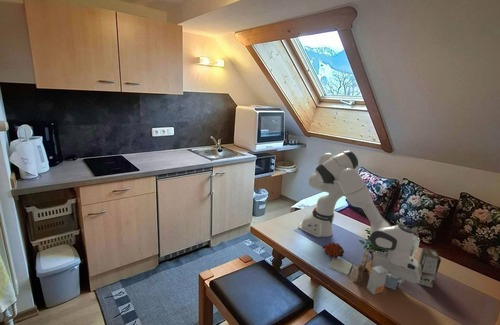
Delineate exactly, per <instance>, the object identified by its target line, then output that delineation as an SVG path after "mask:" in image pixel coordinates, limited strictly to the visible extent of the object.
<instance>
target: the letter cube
mask: <svg viewBox="0 0 500 325" xmlns="http://www.w3.org/2000/svg"><path fill="white" fill-rule="evenodd" d="M398 280H399V277H396V276H393V275H391V274H388V273H387V276H386V280H385V283H384V287H385V288H389V289H391V290H394V291H396V289H397V287H398V285H397V283H398Z"/></svg>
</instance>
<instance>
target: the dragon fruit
mask: <svg viewBox="0 0 500 325" xmlns="http://www.w3.org/2000/svg"><path fill="white" fill-rule="evenodd" d="M322 249H323V250H324V251H323V252H324V253H325V254H327V255H329V257H330V258H334V257H335V258H338V259H339V257H340V258H342V257H344V254H345V251H344V248H343V247H342V246H341V245H340V244H339V243H338V242H336V243H335V242H333V241H332V242H330V243H328V244H326V245H323V246H322Z"/></svg>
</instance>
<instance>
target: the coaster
mask: <svg viewBox="0 0 500 325" xmlns="http://www.w3.org/2000/svg"><path fill="white" fill-rule="evenodd" d="M352 267H353V263H350V262H348V261H347V260H342V259H341V258H339V257H338V258H335V257H334V256H333V257H332V260H331V262H330V263H329V265H328V268H329V269H331V270H333V271H336V272H339V273H341V274H344V275H346V276H349V274H350V271H351V269H352Z"/></svg>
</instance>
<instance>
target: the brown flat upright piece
mask: <svg viewBox="0 0 500 325" xmlns="http://www.w3.org/2000/svg"><path fill="white" fill-rule="evenodd" d="M369 254H370V250H369V249H367V248H366V249H365V251H364V254H363V256H362V259H361V262H360V264H359V265H358V268H357V269H358V273H357V274H358V275H357V277H355V278H354V279H353V283H354V284H356V285H358V286H361V287H363V286H364V283H365V282H364V281H363V280H362V279H363V277H364V276H363V275H364V272H368V271H369V268H368V267H367V262H368V256H369Z"/></svg>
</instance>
